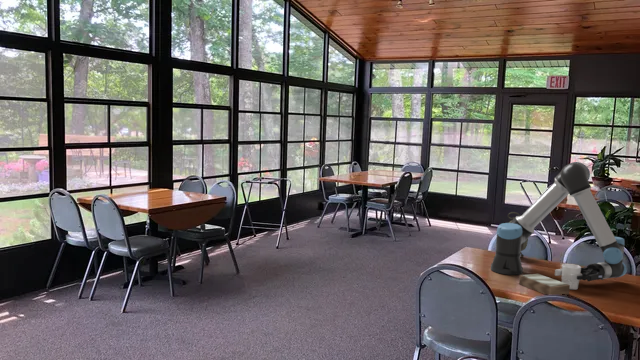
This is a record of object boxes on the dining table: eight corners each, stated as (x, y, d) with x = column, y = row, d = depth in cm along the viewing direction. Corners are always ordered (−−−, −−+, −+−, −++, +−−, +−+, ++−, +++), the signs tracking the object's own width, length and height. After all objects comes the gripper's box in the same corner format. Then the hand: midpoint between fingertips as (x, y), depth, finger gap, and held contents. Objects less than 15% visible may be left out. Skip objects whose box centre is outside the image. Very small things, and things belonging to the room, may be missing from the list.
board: (518, 284, 238) (519, 274, 238) (536, 281, 243) (537, 273, 242) (550, 296, 222) (551, 286, 221) (569, 294, 226) (569, 284, 226)
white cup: (581, 290, 232) (583, 268, 231) (562, 289, 233) (564, 267, 232) (576, 285, 239) (578, 264, 238) (558, 283, 241) (559, 263, 240)
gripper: (617, 285, 234) (581, 290, 225) (578, 273, 252) (544, 276, 243) (619, 269, 233) (583, 273, 224) (580, 257, 252) (545, 261, 242)
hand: (563, 275), depth 234 cm, fingers closed on white cup, 8 cm apart
